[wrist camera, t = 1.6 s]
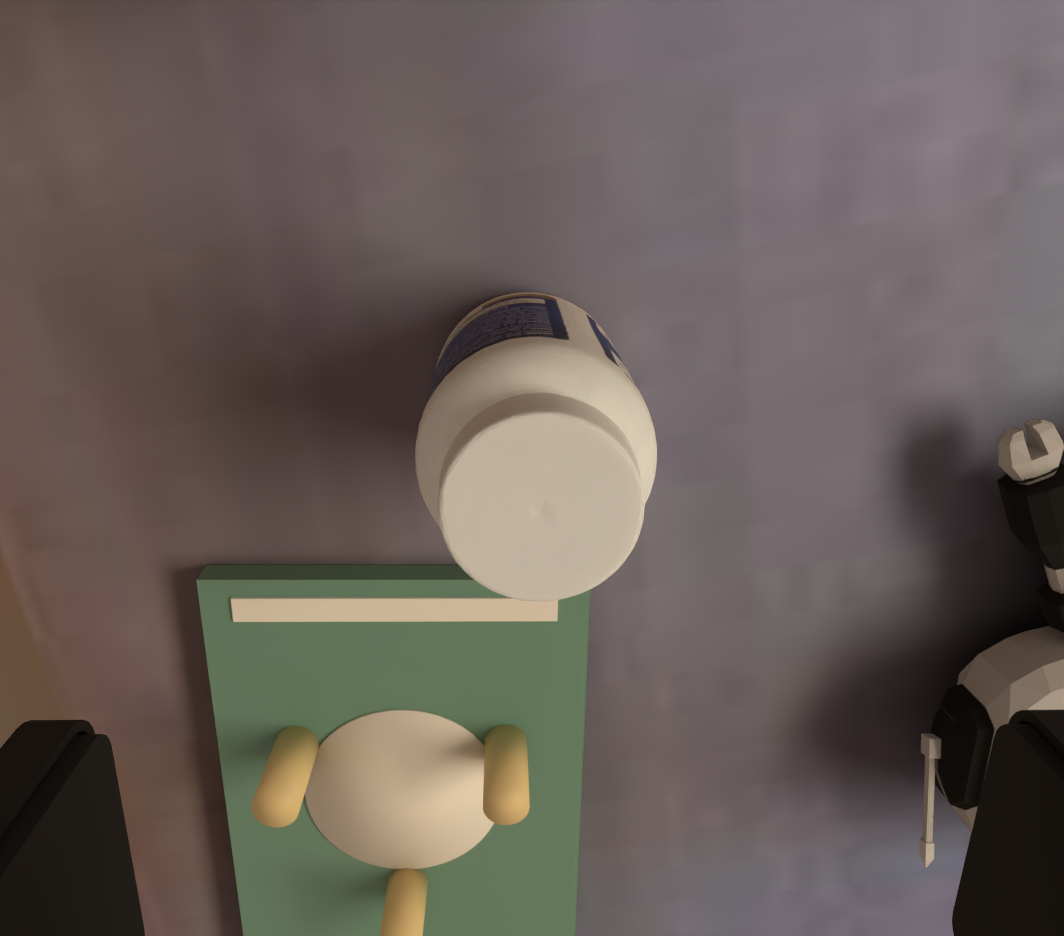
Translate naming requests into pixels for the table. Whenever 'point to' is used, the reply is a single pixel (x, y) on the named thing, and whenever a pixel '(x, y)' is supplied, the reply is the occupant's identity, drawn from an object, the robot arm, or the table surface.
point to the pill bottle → (535, 449)
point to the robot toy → (1018, 661)
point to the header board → (397, 749)
